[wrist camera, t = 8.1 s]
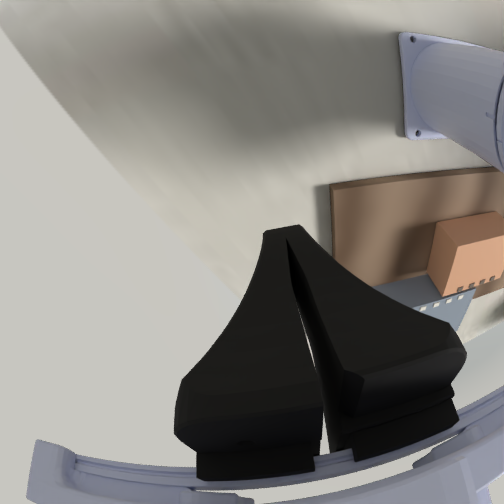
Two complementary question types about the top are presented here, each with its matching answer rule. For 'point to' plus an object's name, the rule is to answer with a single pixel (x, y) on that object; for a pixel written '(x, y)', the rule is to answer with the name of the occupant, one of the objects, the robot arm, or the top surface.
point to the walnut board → (406, 220)
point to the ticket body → (429, 298)
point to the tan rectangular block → (467, 252)
